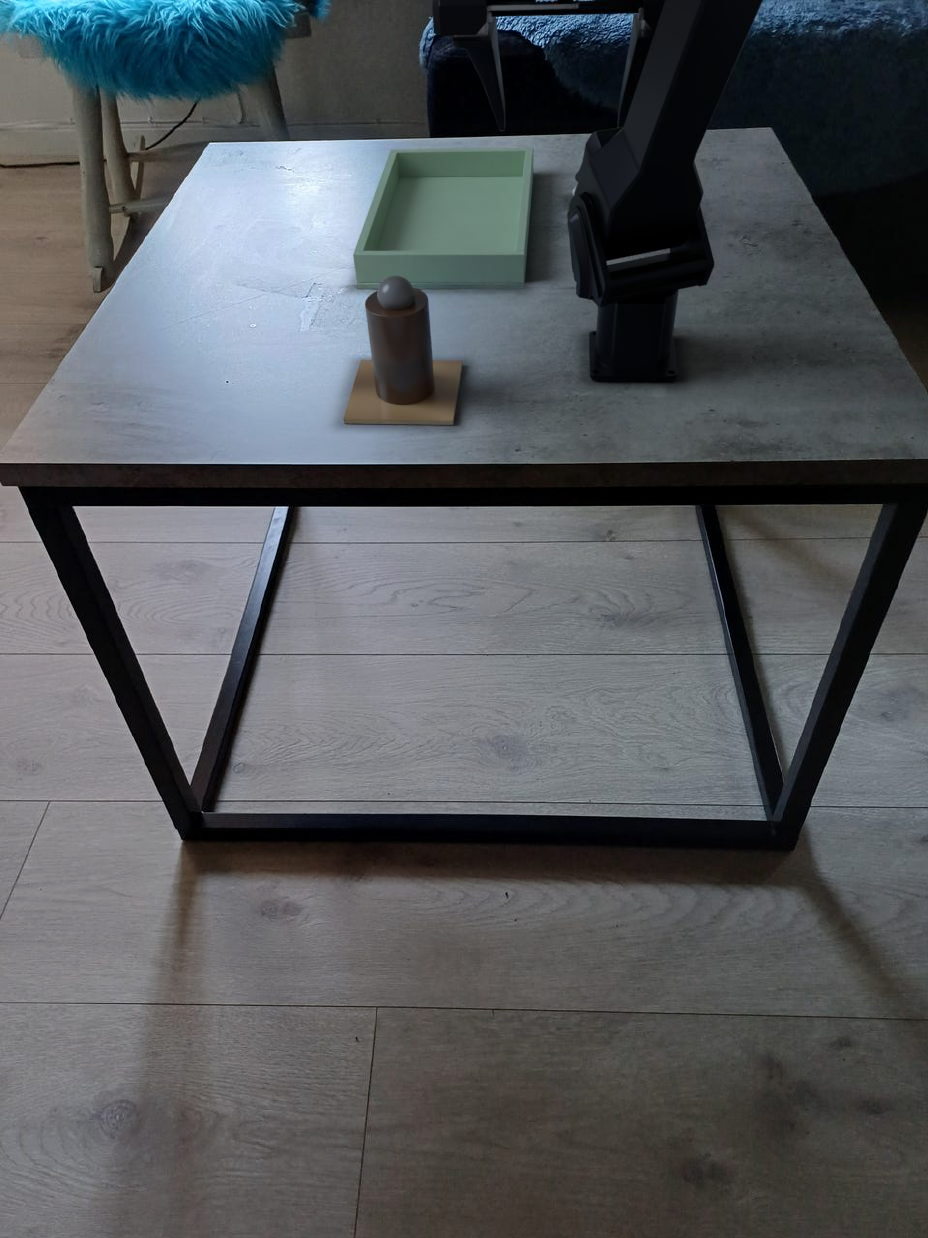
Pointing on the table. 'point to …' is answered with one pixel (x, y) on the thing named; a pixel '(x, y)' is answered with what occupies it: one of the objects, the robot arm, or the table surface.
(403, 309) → the pepper mill
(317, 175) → the table surface
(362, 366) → the cork mat
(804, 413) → the table surface
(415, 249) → the tray
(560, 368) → the table surface
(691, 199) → the robot arm
